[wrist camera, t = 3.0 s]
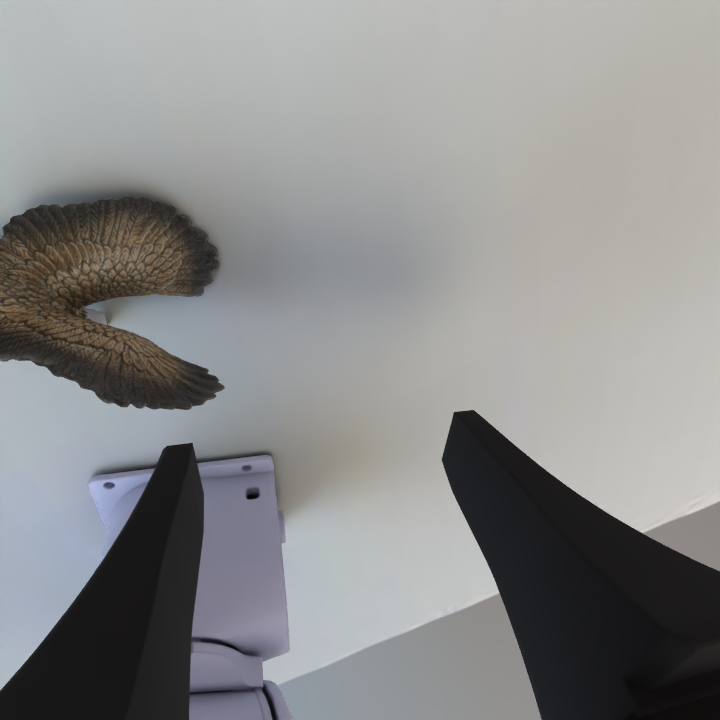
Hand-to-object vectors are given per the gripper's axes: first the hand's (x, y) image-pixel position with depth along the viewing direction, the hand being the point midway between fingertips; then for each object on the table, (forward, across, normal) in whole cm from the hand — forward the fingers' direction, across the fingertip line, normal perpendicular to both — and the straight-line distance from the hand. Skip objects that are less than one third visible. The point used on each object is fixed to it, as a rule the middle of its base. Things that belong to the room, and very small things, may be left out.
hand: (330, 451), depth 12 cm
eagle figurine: (+10, +8, -1) cm, 12 cm away
